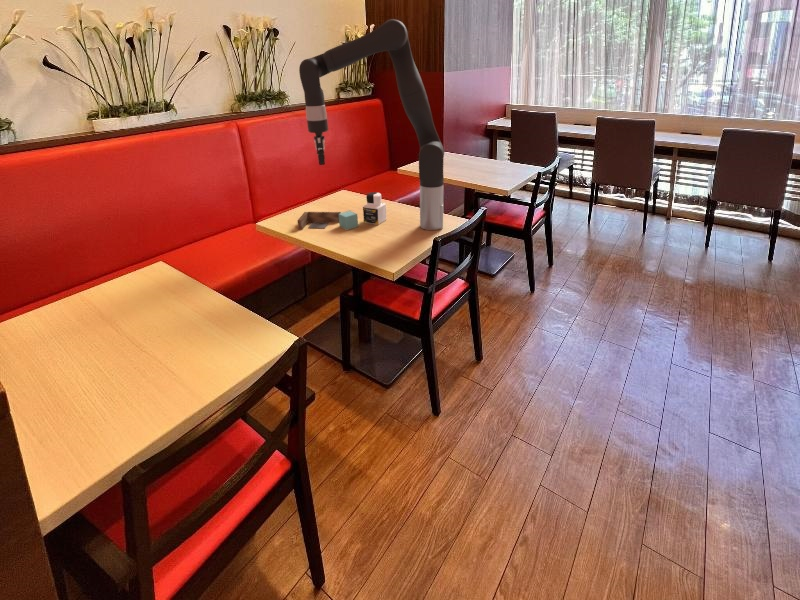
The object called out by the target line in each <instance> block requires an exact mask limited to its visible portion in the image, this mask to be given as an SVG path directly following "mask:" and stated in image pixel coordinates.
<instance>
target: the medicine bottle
mask: <svg viewBox="0 0 800 600" xmlns="http://www.w3.org/2000/svg"><path fill="white" fill-rule="evenodd" d="M362 210H363V211H362V213H363V214H362V215H363V222H364V224H370V225H375V226H377V225H378V226H379V225H381V224H382V223H384V222H385V221H386V220H387V203H384V202H383V203H382V194H381V193H380V192H377V191H373V192H368V193H366V204H365V205H362Z"/></svg>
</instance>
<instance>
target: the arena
mask: <svg viewBox="0 0 800 600" xmlns="http://www.w3.org/2000/svg"><path fill="white" fill-rule="evenodd" d="M340 213H342V212H341V211H304V212H303V213H302V214H301V216H300V217H299V218H297V220H296V221H297V228H298V230H299V231H303V230H304V228H305V227H306V226H307V224H308V223H309V222H311V224H310V225H309V226H308V229H320V230H321V229H326V228H327V226H328V225H329V222H330V223H332V222H335V223H339V214H340Z"/></svg>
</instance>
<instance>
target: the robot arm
mask: <svg viewBox="0 0 800 600" xmlns="http://www.w3.org/2000/svg"><path fill="white" fill-rule="evenodd" d="M382 52H388V54H389V58H390V59H391V62H392V65H393V68H394V74H395V78H396V85H397V86H396V87H397V90H398V94H399V97H400V100H401V103H402V107H403V109H404V112H405V114H406V116H407V118H408V120H409V121H410V123H411V125H412V127H413V129H414V131H415V133H416V137H417V141H418V145H419V153H418V178H419V218H420V219H419V225H420V228H421V229H423V230H427V231H436V230H442V229H443V228H444V181H445V180H444V179H445V178H444V177H445V176H444V156H445V149H444V148H445V147H444V146H443V143H442V142H441V139H440V136H439V134H438V132H437V130H436V126H435V123H434V119H433V115H432V110H431V106H430V103H429V99H428V95H427V92H426V91H427V90H426V89H425V86H424V83H423V80H422V77H421V75H420V73H419V70H418V68H417V66H416V64H415V63H416V62H415V61H414V57H413V53H412V50H411V45H410V40H409V34H408V29H407V27H406V25H405V24H404V23H403V21H400V20H398V19H395V18H393V19H392V18H390V19H388V20H386V21H384V23H383V24H380V25H379V26H378V27H377V28H375V29H373V30H372V31H371V32H368V33H367V34H365V35H363V36H360V37H357V38H356V39H352V40H349V41H347V42H344V43H342V44H339V45H337V46H334V47H332V48H329V49H328V50H326V51H324V52H323V53H321V54H318V55H316V56H312V57H310V58H305V59H303V60H302V61H301V62H300V64H299V70H298V71H299V77H300V79H299V80H300V83H301V86H302V90H303V93H304V94H303V95H304V101H305V102H304V103H305V115H306V116H305V117H306V124H307V125H306V126H307V130H308V132H309V133H311V134H315V136H313V141H314V146H315V150H316V155H317V158H318V164H319V166H324V165H325V164H326V162H325V161H326V160H325V159H326V158H325V148H326V147H325V146H326V145H325V142H326V140H325V139H326V138H325V135H324V133H326V132H328V131H329V124H328V114H327V109H326V104H325V103H326V101H325V95H324V90H323V89H322V87H321V82H320V78H322V77H324V76H327V75H328V74H331V73H332V72H337V71H340V70H342V69H344V68H346V67H349V66H351V65H353V64H355V63H357V62H359V61H361V60H363V59H365V58H367V57H370V56H372V55H375V54H378V53H382Z"/></svg>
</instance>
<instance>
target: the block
mask: <svg viewBox="0 0 800 600" xmlns="http://www.w3.org/2000/svg"><path fill="white" fill-rule="evenodd" d="M358 218H359V217H358V213H356V212H353V211H351V210H348V211H344V212H341V213H340V214H339V222H338V224H339V227H340V228H342V229H344V230H346V231H349V230H352V229H354V228H358V227H359V220H358Z"/></svg>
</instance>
